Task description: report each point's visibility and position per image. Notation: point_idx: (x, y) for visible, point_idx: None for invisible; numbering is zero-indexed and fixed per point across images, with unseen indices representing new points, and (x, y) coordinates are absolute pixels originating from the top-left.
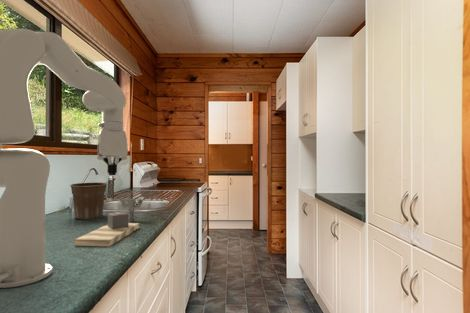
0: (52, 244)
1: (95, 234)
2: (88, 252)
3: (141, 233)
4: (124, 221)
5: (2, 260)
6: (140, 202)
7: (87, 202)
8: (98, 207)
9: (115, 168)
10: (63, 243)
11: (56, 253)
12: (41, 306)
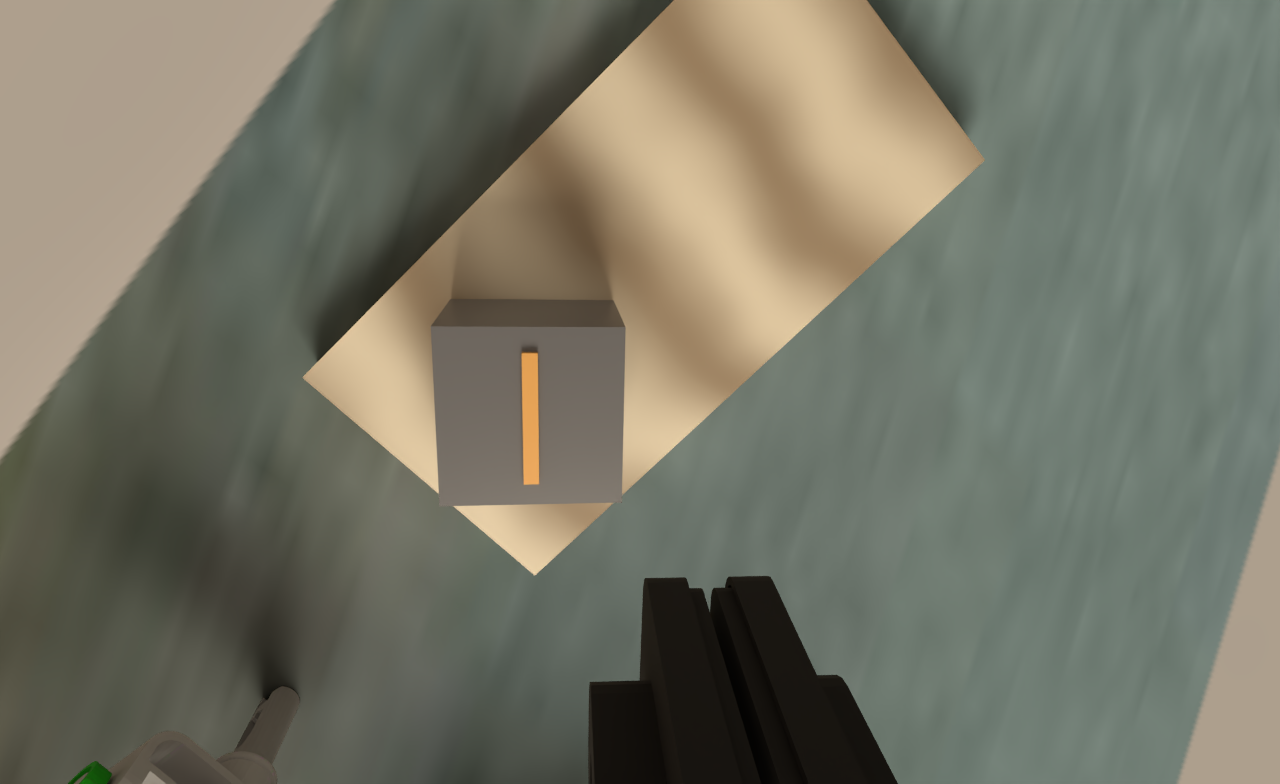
0: (1056, 314)
1: (800, 210)
2: None
3: (369, 140)
4: (488, 309)
5: None
6: (103, 768)
7: None
8: None
9: (677, 699)
10: (994, 286)
11: (1122, 29)
12: None
